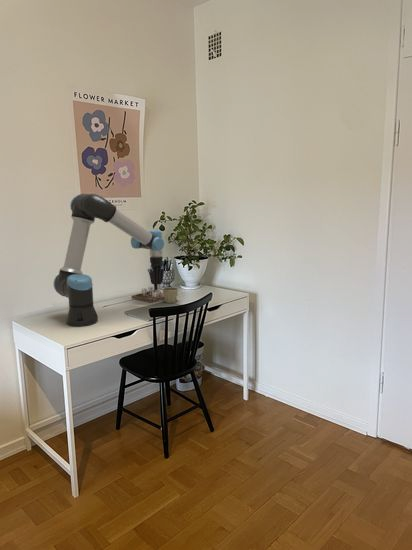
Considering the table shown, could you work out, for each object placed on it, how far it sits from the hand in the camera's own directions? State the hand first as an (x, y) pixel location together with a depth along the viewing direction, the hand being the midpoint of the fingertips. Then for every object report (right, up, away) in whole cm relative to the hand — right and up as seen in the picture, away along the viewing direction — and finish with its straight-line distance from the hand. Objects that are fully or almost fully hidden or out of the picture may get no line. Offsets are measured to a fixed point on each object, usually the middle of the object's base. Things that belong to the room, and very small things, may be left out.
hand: (157, 294), depth 257 cm
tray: (-1, -3, -1) cm, 3 cm away
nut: (-2, -2, -2) cm, 3 cm away
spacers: (-1, -1, 0) cm, 1 cm away
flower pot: (+9, -5, -11) cm, 15 cm away
